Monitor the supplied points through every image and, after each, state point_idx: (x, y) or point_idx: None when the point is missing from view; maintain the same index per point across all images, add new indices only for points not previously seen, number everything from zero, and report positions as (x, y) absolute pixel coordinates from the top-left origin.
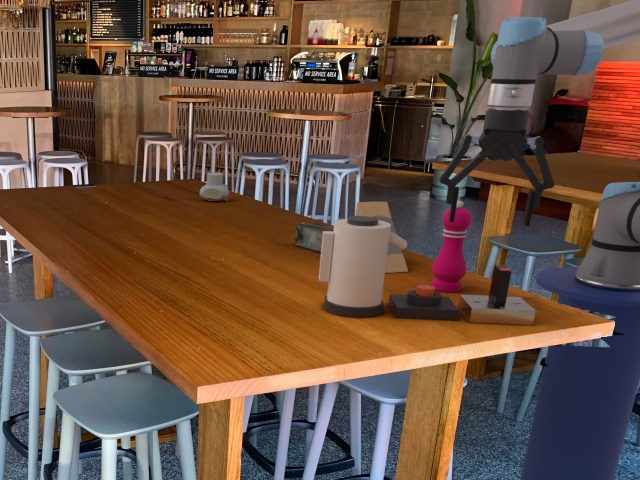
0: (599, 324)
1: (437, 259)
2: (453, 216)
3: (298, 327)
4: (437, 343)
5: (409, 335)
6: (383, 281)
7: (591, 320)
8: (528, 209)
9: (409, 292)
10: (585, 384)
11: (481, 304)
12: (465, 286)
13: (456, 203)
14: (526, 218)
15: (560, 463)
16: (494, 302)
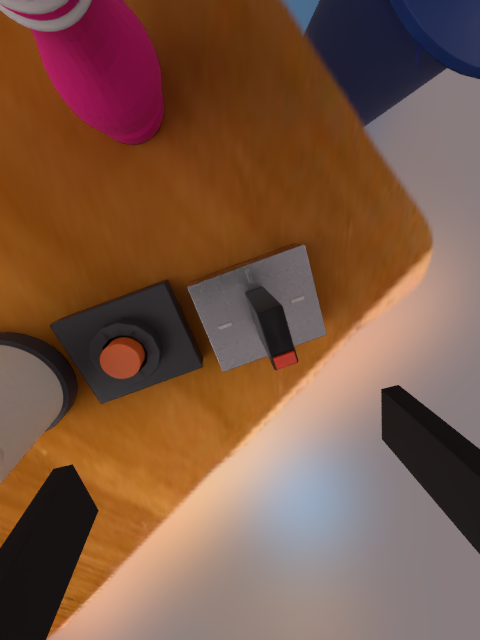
0: (418, 265)
1: (50, 74)
2: (80, 541)
3: (2, 498)
4: (196, 465)
5: (155, 455)
6: (33, 416)
7: (411, 245)
8: (444, 510)
9: (94, 362)
10: (362, 109)
11: (236, 341)
12: (166, 38)
13: (44, 638)
14: (405, 465)
15: None
16: (258, 334)
